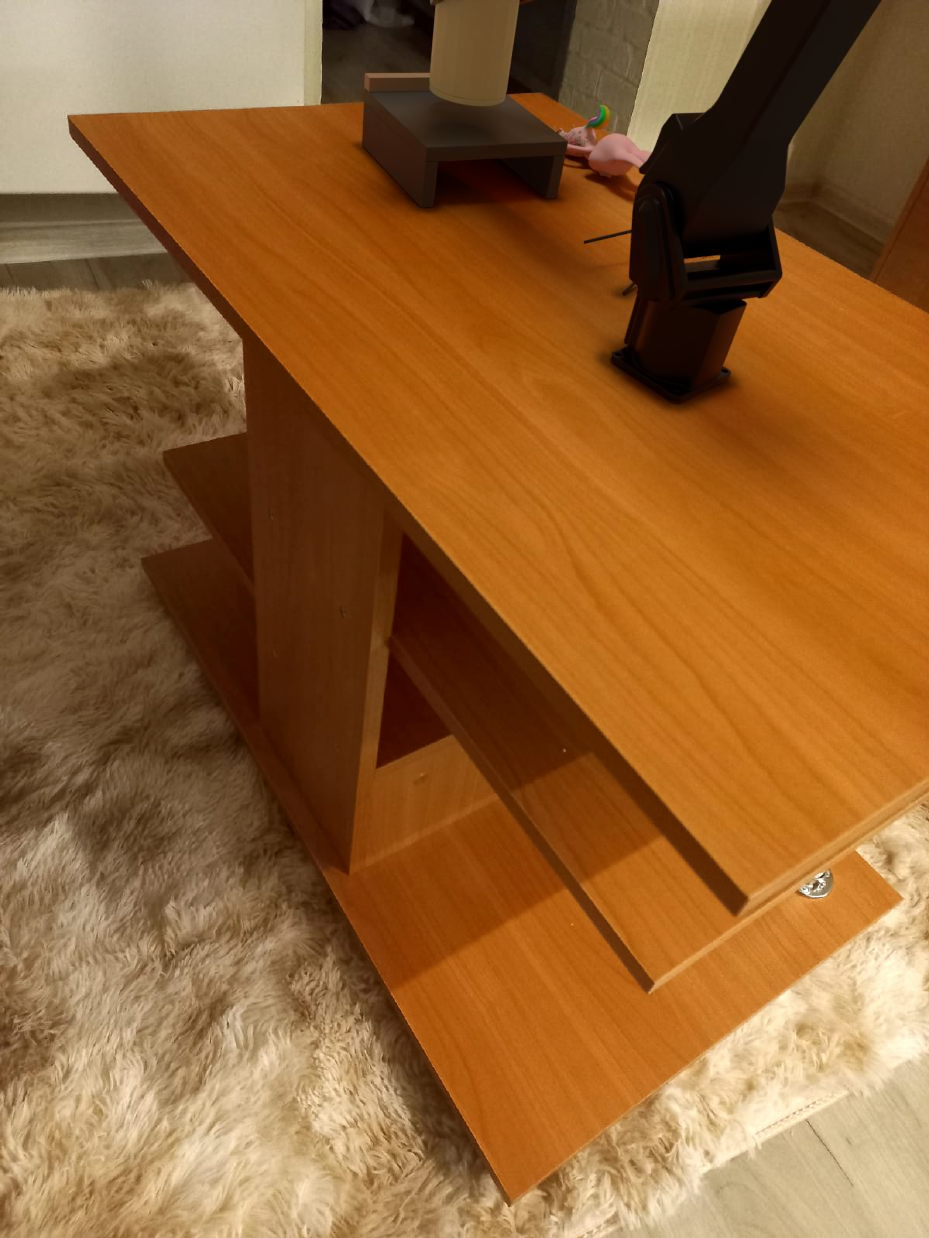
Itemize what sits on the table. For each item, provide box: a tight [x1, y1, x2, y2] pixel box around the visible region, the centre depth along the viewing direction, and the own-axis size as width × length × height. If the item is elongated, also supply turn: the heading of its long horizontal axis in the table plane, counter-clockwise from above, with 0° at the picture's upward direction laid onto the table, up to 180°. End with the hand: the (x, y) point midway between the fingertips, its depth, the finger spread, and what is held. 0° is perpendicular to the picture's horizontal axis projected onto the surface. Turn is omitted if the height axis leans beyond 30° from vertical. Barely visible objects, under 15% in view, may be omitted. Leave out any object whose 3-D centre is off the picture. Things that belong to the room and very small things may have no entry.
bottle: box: [429, 0, 520, 106], centre depth 73 cm, size 7×7×14 cm
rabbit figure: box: [553, 104, 652, 179], centre depth 85 cm, size 6×6×15 cm
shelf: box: [361, 72, 568, 209], centre depth 80 cm, size 14×14×6 cm
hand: (470, 0), depth 74 cm, fingers closed on bottle, 7 cm apart
